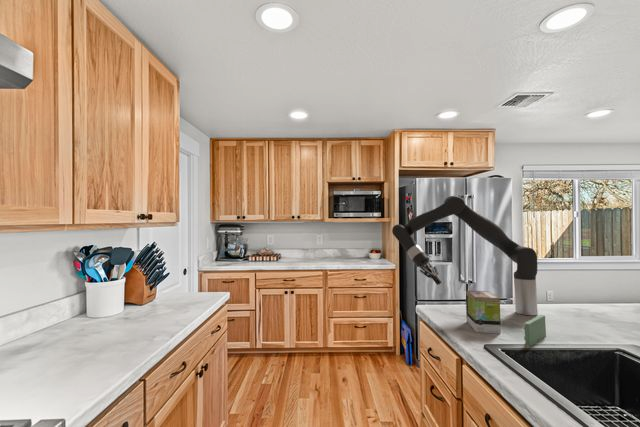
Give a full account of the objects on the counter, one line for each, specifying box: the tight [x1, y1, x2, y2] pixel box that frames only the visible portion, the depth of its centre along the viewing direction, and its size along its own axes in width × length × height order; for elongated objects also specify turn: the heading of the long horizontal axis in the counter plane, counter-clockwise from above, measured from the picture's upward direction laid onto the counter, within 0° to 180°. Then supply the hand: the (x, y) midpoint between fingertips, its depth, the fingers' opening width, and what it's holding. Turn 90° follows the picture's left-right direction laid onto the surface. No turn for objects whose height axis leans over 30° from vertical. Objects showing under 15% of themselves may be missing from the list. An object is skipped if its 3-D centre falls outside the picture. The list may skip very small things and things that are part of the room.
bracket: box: [523, 314, 547, 347], centre depth 118 cm, size 17×2×8 cm, turn 128°
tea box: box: [465, 290, 502, 334], centre depth 134 cm, size 15×10×15 cm
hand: (439, 283), depth 149 cm, fingers closed
